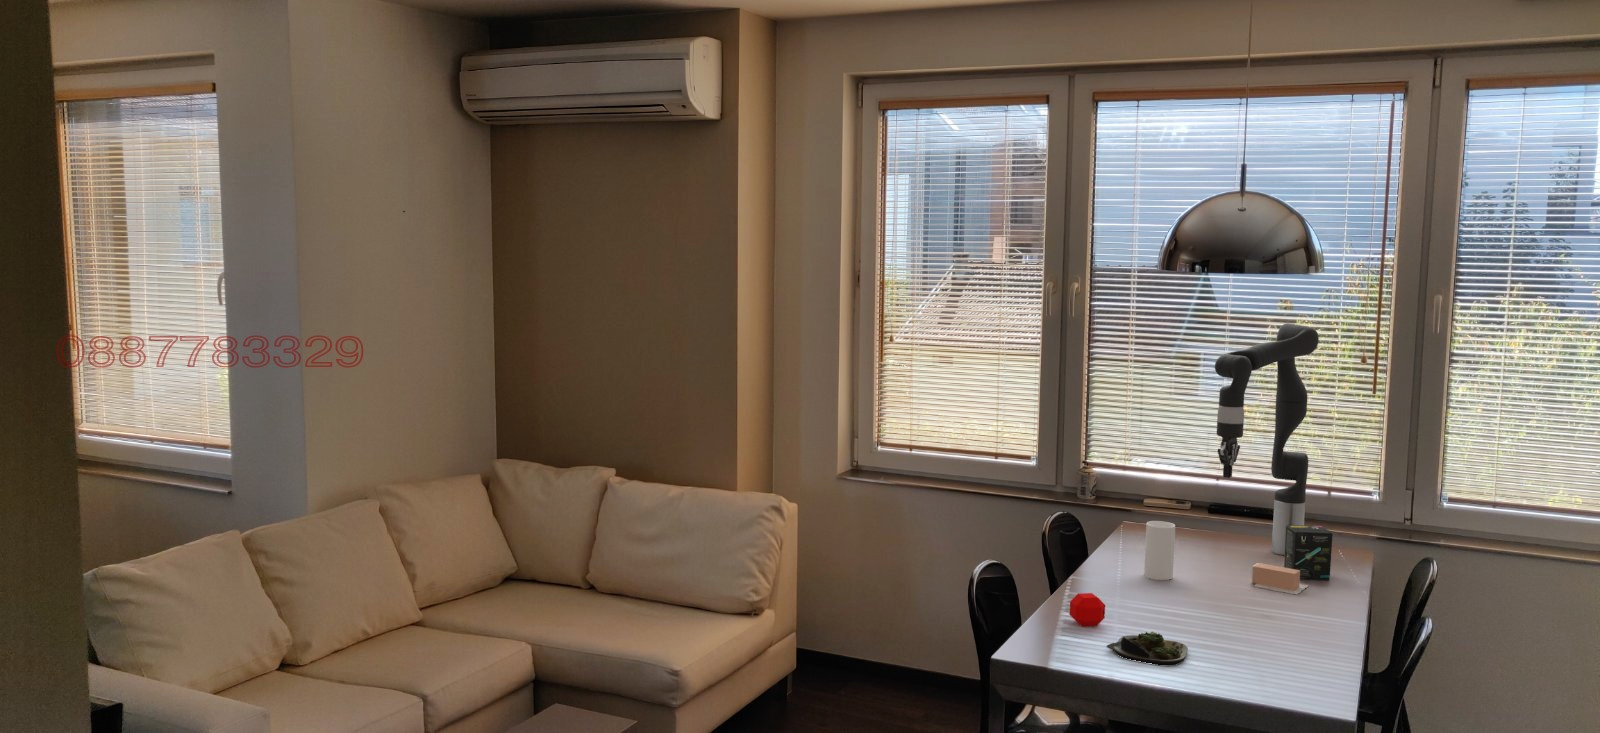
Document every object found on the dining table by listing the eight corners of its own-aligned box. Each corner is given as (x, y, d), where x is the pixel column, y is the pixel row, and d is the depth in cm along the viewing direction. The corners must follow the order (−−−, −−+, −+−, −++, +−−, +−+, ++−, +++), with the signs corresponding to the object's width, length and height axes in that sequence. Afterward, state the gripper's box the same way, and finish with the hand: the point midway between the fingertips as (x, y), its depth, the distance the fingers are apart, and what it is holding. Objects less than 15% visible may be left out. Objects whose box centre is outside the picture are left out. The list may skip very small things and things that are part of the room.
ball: (1107, 628, 291) (1109, 599, 290) (1078, 629, 290) (1079, 600, 289) (1094, 618, 299) (1096, 590, 298) (1066, 619, 298) (1067, 591, 297)
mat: (1266, 578, 339) (1266, 577, 339) (1308, 586, 331) (1308, 585, 331) (1253, 586, 331) (1253, 585, 331) (1296, 594, 323) (1296, 593, 323)
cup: (1142, 578, 338) (1145, 525, 336) (1145, 571, 345) (1147, 519, 344) (1171, 581, 334) (1174, 528, 333) (1173, 574, 342) (1176, 522, 340)
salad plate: (1121, 634, 288) (1122, 616, 288) (1194, 646, 279) (1195, 628, 279) (1102, 657, 271) (1103, 638, 271) (1179, 671, 263) (1180, 652, 262)
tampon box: (1319, 572, 347) (1322, 525, 346) (1330, 580, 338) (1333, 532, 337) (1282, 570, 348) (1285, 524, 347) (1292, 579, 339) (1295, 531, 338)
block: (1257, 562, 337) (1300, 570, 329) (1257, 579, 337) (1299, 587, 330) (1252, 566, 333) (1294, 573, 325) (1251, 582, 334) (1293, 590, 326)
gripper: (1235, 424, 335) (1232, 482, 337) (1250, 419, 345) (1247, 476, 347) (1210, 421, 340) (1207, 478, 342) (1225, 417, 350) (1222, 472, 352)
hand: (1227, 477), depth 345 cm, fingers closed
